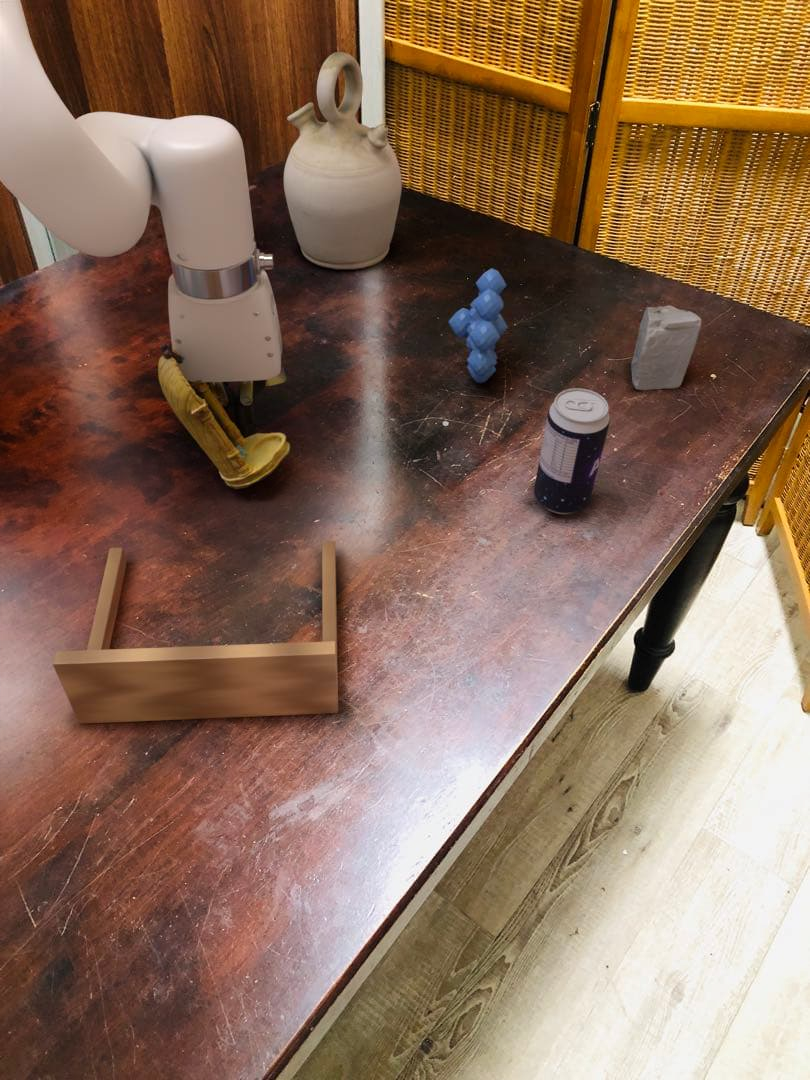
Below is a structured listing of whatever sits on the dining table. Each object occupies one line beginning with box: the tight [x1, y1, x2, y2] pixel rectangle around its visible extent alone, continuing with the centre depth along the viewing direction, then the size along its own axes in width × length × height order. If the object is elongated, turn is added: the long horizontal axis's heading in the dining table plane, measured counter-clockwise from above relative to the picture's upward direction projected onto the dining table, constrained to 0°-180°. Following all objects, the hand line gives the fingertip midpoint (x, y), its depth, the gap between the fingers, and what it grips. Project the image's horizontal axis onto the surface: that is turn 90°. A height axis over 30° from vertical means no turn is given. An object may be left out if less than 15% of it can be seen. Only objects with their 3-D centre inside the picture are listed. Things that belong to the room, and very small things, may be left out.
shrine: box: [157, 342, 291, 490], centre depth 84 cm, size 12×8×15 cm
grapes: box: [448, 267, 509, 384], centre depth 99 cm, size 12×7×12 cm, turn 172°
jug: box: [283, 51, 403, 271], centre depth 113 cm, size 15×16×25 cm
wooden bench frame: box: [52, 541, 339, 725], centre depth 73 cm, size 20×17×8 cm
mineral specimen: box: [630, 304, 703, 391], centre depth 101 cm, size 7×9×8 cm
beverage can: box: [533, 387, 611, 515], centre depth 84 cm, size 6×6×12 cm
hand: (240, 428), depth 92 cm, fingers closed
